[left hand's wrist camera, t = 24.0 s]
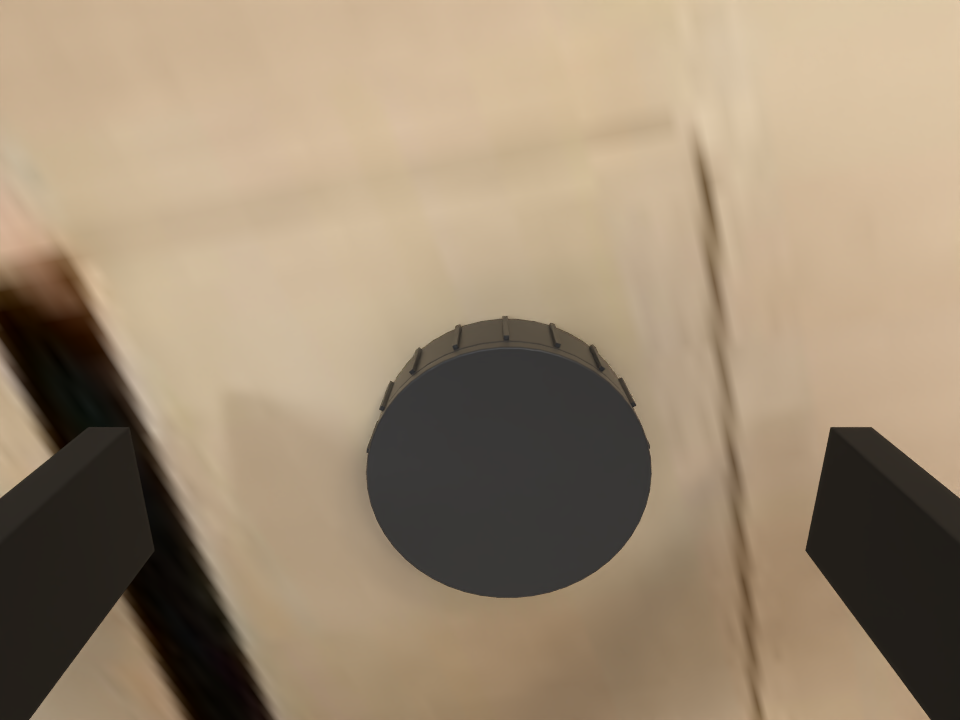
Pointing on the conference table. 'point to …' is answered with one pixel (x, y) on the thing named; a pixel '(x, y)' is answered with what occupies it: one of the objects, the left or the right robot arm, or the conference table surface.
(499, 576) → the lid
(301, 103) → the conference table surface
